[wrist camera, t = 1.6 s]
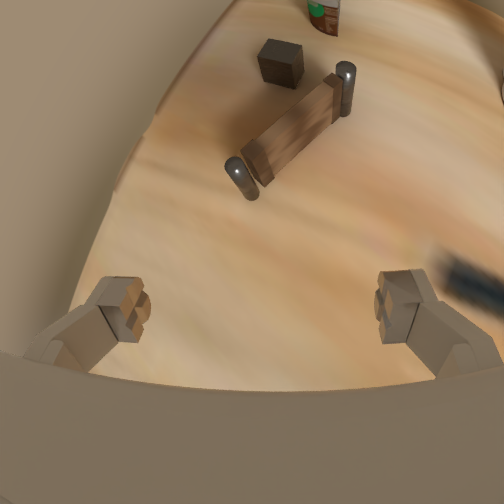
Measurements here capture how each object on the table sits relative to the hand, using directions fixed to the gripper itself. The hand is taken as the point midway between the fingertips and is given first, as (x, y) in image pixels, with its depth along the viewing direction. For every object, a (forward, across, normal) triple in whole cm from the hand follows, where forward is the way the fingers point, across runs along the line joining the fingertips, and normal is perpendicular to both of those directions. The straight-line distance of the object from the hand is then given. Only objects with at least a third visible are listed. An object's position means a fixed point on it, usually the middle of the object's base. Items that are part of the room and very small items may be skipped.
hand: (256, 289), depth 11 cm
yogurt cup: (+52, -9, -14) cm, 54 cm away
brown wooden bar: (+33, -2, +5) cm, 33 cm away
